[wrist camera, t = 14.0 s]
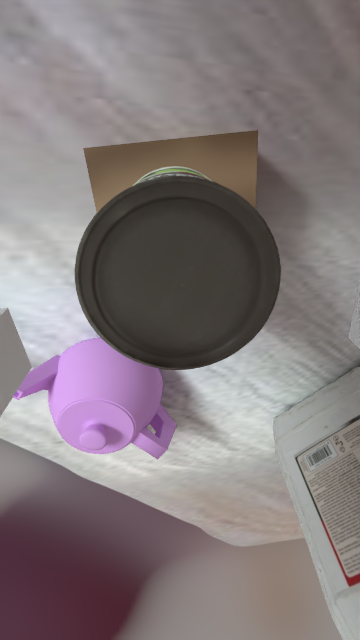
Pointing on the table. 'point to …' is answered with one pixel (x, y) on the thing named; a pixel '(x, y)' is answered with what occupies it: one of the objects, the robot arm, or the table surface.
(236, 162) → the walnut block
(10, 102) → the table surface
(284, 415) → the jerry can
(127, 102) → the table surface
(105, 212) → the coffee can
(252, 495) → the table surface
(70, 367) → the teapot
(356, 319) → the robot arm
